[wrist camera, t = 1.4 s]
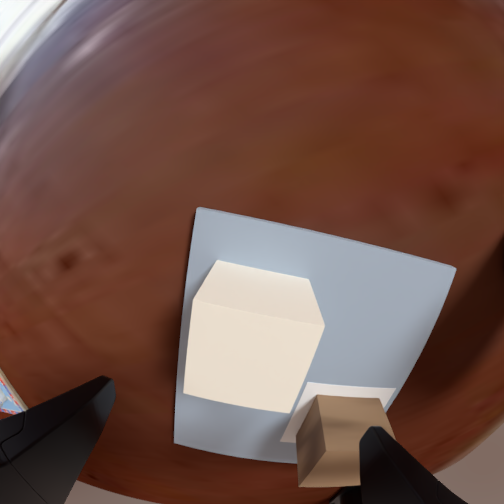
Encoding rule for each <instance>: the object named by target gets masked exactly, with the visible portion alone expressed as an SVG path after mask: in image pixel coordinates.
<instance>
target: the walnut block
mask: <svg viewBox="0 0 504 504" xmlns="http://www.w3.org/2000/svg"><path fill="white" fill-rule="evenodd" d="M370 426H381V427H382V428H383V429H385V430H386V431H387V432H388V433H389V434H390V435H391V436H392V437H393V438H394V439H395V436H394V434H393V431H392V428H391V426H390V423H389V421H388V418H387V416H386V413H385V411H384V408H383V406H382V403H381V401H380V399H379V398H361V397H343V396H330V395H319V394H317V395H316V397H315V399H314V401H313V403H312V405H311V407H310V409H309V411H308V413H307V415H306V417H305V419H304V421H303V423H302V425H301V427H300V429H299V431H298V432H297V434H296V450H297V467H298V487H340V486H355V485H361V484H360V464H359V442H360V439H361V438H362V436H363V435H364V434H365V432H366V431H367V429H368V428H369V427H370ZM395 440H396V439H395Z"/></svg>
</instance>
